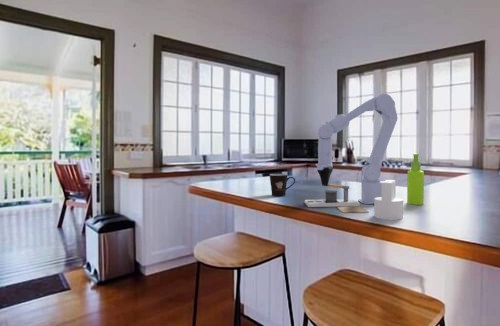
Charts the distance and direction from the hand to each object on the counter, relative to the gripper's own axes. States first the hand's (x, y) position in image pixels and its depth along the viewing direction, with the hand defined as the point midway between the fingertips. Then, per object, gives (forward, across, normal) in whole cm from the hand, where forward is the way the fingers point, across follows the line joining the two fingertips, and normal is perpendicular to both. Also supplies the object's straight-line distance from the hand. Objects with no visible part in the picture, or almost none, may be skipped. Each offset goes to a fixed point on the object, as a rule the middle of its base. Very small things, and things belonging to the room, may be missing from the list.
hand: (324, 185), depth 142 cm
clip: (0, 0, +5) cm, 5 cm away
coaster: (+7, +13, +15) cm, 21 cm away
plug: (+7, +5, +4) cm, 10 cm away
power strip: (+7, +5, +4) cm, 10 cm away
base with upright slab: (+7, +18, +28) cm, 34 cm away
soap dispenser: (+7, -12, +34) cm, 36 cm away
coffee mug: (+7, -6, -23) cm, 25 cm away
